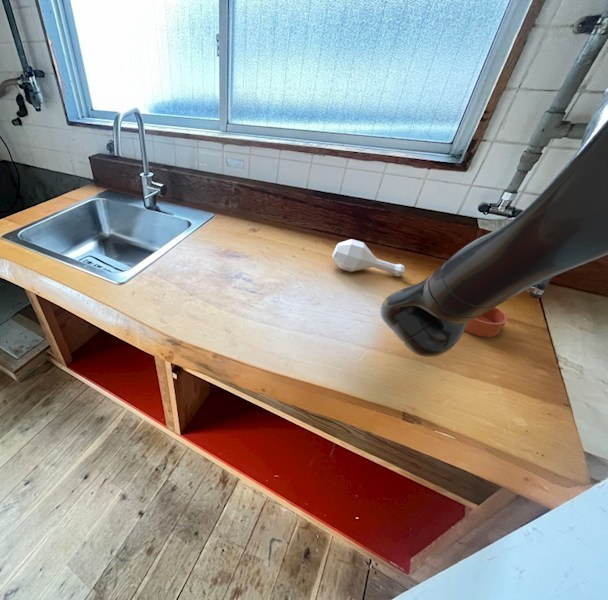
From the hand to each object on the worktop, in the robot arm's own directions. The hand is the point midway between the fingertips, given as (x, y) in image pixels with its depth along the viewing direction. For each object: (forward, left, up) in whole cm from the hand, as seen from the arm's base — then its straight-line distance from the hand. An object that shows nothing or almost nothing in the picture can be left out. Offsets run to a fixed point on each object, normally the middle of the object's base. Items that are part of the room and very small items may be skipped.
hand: (520, 258), depth 61 cm
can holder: (0, +2, -16) cm, 16 cm away
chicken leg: (+27, -2, -16) cm, 32 cm away
